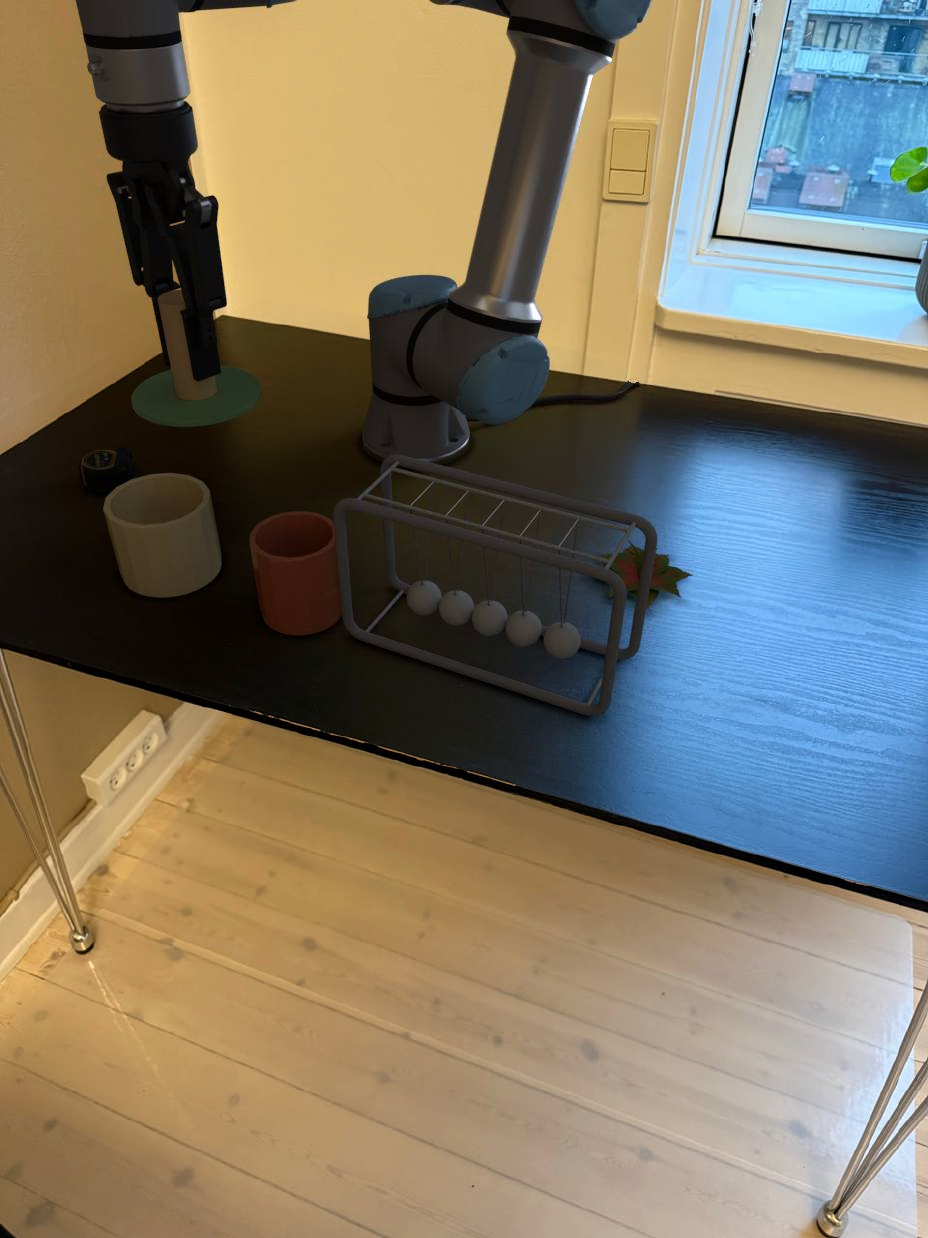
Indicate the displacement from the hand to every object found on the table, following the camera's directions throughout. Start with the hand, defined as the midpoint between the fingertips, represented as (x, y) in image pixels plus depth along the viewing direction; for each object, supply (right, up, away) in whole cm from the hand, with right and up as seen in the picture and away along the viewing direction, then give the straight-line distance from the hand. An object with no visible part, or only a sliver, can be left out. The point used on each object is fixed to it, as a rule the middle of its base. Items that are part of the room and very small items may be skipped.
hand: (192, 368), depth 93 cm
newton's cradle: (+29, -28, +9) cm, 41 cm away
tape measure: (-20, -6, +34) cm, 40 cm away
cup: (+9, -23, +14) cm, 28 cm away
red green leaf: (+47, -20, +19) cm, 54 cm away
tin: (-8, -19, +19) cm, 28 cm away
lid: (0, -2, +2) cm, 3 cm away
